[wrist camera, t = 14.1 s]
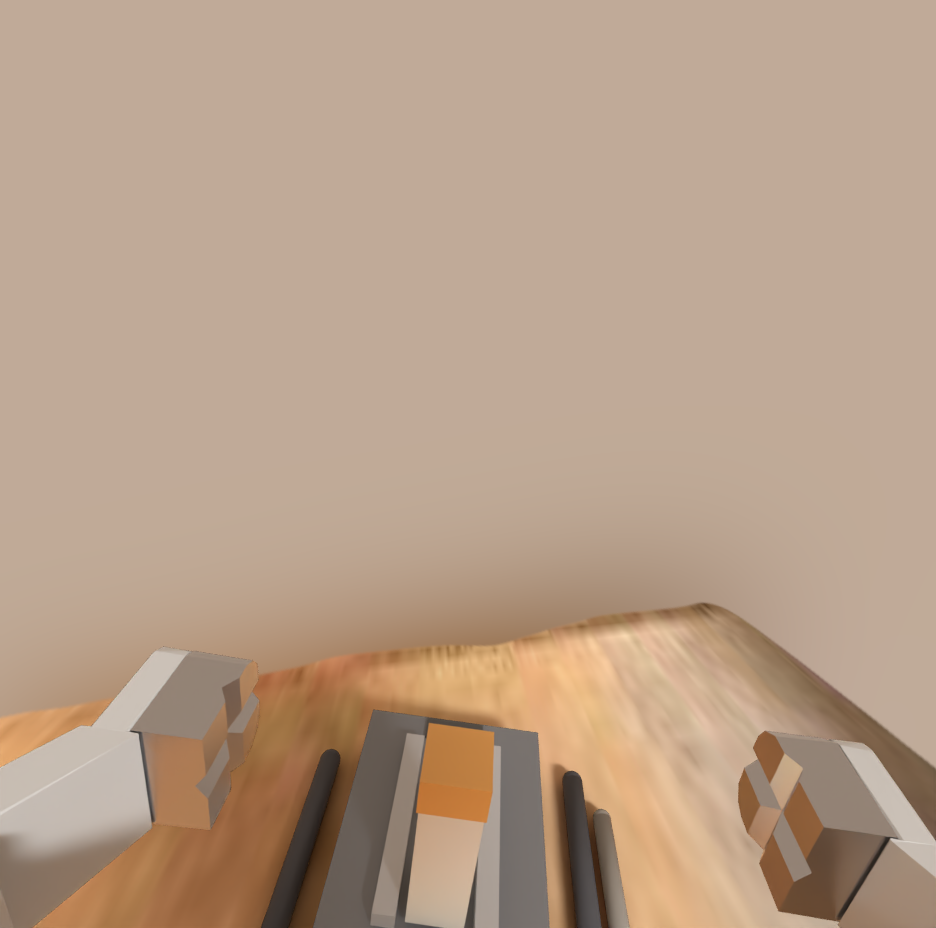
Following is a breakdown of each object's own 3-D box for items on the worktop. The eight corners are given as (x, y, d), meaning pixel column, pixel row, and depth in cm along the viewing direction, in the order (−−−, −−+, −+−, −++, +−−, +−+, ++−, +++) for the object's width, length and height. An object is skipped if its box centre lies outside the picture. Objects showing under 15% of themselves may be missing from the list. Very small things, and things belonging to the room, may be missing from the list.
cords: (327, 745, 43) (327, 732, 42) (601, 784, 42) (605, 771, 42) (234, 1015, 28) (232, 999, 28) (650, 1076, 28) (657, 1061, 27)
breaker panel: (370, 749, 43) (374, 699, 41) (529, 771, 43) (540, 722, 41) (299, 1022, 28) (299, 965, 26) (540, 1058, 28) (558, 1002, 26)
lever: (412, 859, 32) (428, 722, 28) (469, 867, 32) (494, 731, 28) (402, 923, 29) (419, 781, 25) (465, 933, 29) (492, 792, 25)
